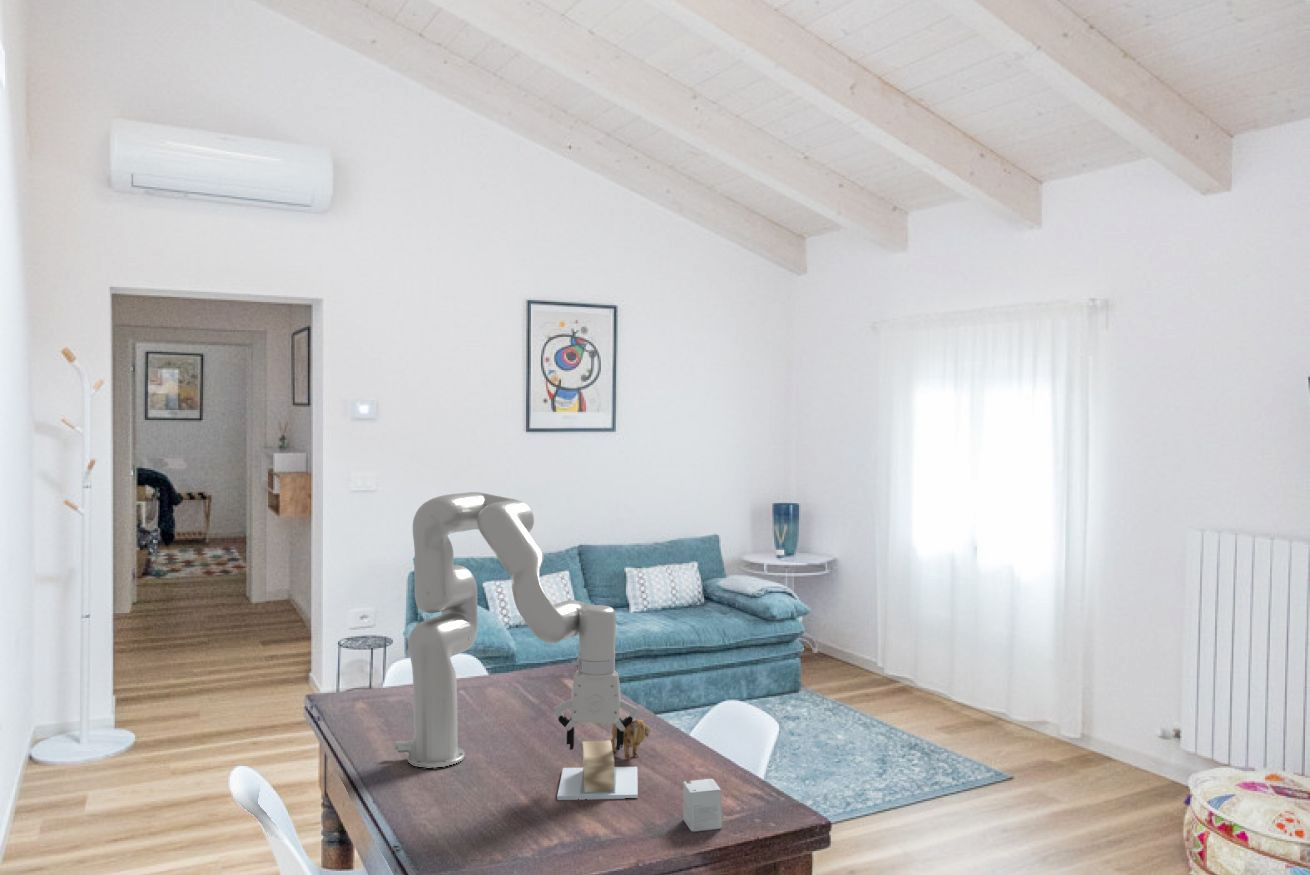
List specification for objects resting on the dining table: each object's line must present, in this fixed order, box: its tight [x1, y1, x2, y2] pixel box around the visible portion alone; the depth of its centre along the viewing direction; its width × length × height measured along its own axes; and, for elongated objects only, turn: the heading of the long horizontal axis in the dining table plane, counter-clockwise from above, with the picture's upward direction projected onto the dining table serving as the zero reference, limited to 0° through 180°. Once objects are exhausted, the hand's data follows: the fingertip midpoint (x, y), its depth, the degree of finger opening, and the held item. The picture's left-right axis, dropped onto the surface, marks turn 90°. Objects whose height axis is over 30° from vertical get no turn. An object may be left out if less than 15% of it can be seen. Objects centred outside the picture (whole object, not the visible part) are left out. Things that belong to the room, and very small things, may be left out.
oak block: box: [582, 739, 615, 792], centre depth 204 cm, size 6×13×6 cm, turn 6°
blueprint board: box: [556, 766, 639, 801], centre depth 204 cm, size 16×16×1 cm
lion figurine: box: [610, 719, 652, 760], centre depth 223 cm, size 15×5×9 cm, turn 37°
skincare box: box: [682, 778, 723, 832], centre depth 184 cm, size 6×6×7 cm
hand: (595, 747), depth 205 cm, fingers open, 9 cm apart
